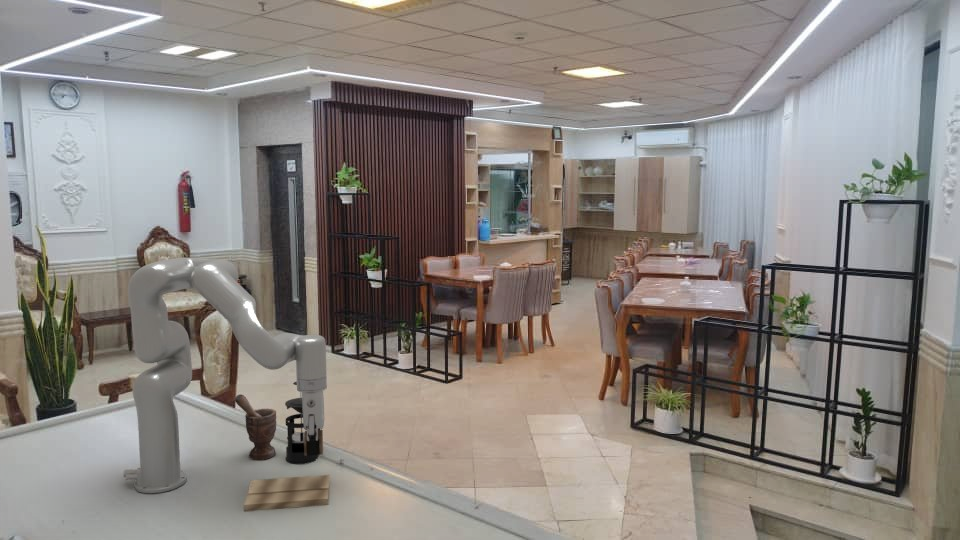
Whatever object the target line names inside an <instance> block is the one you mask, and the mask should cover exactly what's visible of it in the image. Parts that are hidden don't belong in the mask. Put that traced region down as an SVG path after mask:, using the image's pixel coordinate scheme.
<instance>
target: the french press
mask: <svg viewBox="0 0 960 540" xmlns="http://www.w3.org/2000/svg"><path fill="white" fill-rule="evenodd" d="M292 384H293V385H295V386H297V380H296V381H294V382H293V383H292ZM299 395H300V396H299V397H296V398H291V399H289V400H286V401H285V403H284V405H285V407H286V409H287V410H290V408H291V409H292V410H294V411H296V412H297V413H296V414H292V415H288V416H287V417H286V418H285V426H287V437H286V440H287V446H286V447H285V452H286V455H285V461H286V462H287V463H289V464H292V465H304V464H305V463H306V464H309V463H313V462H315V461H317V460H316V459H318V460H319V455H313V456H304V434H305V431H303V429H304V424H303V411H302V392H299ZM296 419H297V420H298V419H300V422H299V423H295V420H296ZM295 429H300V432H296V431H295ZM319 430H321V428H319Z"/></svg>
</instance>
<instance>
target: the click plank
mask: <svg viewBox="0 0 960 540" xmlns="http://www.w3.org/2000/svg"><path fill="white" fill-rule="evenodd" d="M326 488H329V489H330V474H323V475H321V474H320V475H311V476H297V477H295V476H294V477H282V478H281V477H280V478H278V477H277V478H267V479H266V478H264V479H252V480H251V481H250V484H249V488H248V491H247V494H258V493H271V492H285V491H299V490H312V489H326Z"/></svg>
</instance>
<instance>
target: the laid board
mask: <svg viewBox="0 0 960 540" xmlns="http://www.w3.org/2000/svg"><path fill="white" fill-rule="evenodd" d="M329 495H330V487H329V488H326V489H312V490H299V491H285V492H271V493H258V494H248V493H247V494H246V498H245V501H244V504H243V512H249V511H250V512H251V511H252V512H253V511H263V510H276V509H286V508H287V509H288V508H289V509H291V508H302V507H316V506H327V505H329Z"/></svg>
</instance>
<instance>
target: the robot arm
mask: <svg viewBox="0 0 960 540" xmlns="http://www.w3.org/2000/svg"><path fill="white" fill-rule="evenodd" d="M238 280H239V271H238V269H237V267H236V266H235V265H234V263H232V262H230V261H229V260H226V259H223V258H221V259H220V258H199V257H176V258H170V259H163V260H158V261H154V262H151V263H148V264H146V265H143V266H142V267H139V269H137V270H136V271H135V272H134V273H133V274H132V276H131V277H130V279H129V280H128V281H129V282H128V285H127V298H128V304H129V308H130V317H131V319H130V320H131V329H132V330H131V331H132V339H133V341H132V342H133V350H134V353H135V356H136V357H137V359H138V361H141V362H142V363H144V364H154V363H157V364H156V365H154V366H152V367H149V368H148V369H145V370H144V371H142V372H141V373H140V374H138V376H136V378H135V380H134V381H133V383H132V384H133V385H132V396H133V397H132V398H133V400H134V401H133V402H134V404H135V410H136V415H137V417H136V418H137V430H138V447H139V448H138V449H139V467H137V468H136V469H124V471H123V478H125V480H126V481H129V480H135V481H134V490H136V491H137V492H140V493H142V494H158V493H164V492H170V491H172V490H175V489H177V488H179V487H181V486H183V485H184V484H185V483H186V482H187V481H188V476H187V473H186V472H184V471H182V470H181V457H180V456H181V454H180V434H179V433H180V430H179V428H180V427H179V417H178V415H179V414H178V410H177V407H176V405H175V402H174V397H176V396H177V395H179V394H181V393H182V392H183V391H185V390H186V389H187V388H188V387H189V386H190V384H191V382H192V378H193V366H192V365H193V364H192V353H191V344H190V343H191V342H190V338H189V334H188V332H187V330H186V328H185V327H184V326H183V325H182V324H181V323H180V322H178V321H175V320H169V315H168V312H169V311H168V308H167V304H166V302H165V300H164V299H163V296H164V295H166V294H170V293H174V292H178V291H180V290H181V291H182V290H185V289H186V290H187V289H188V290H189V289H190V290H191V289H193V290H195V291H196V292H198V293H199V295H201V296H202V297H203V299H205V300H206V301H207V302H208V303H209V304H210V305H211V307H213V309H215V311H217V312H218V313H219V314H220V315H221V316H222V317H223V318H224V319H225V320H227V322H228V323H229V325H230V328H231V331H232V333H233V334H234V337H235V338H236V340H237V342H238V343H239V345H240V346H241V348H242V350H244V351H245V352H246V353H247V355H249V356H250V357H251V358H252V359H253V360H254V361H255V362H256V363H258V365H260V366H261V367H263V368H265V369H268V370H274V371H276V370H279V369H281V368H283V367H284V366H286V365H287V364H289V363H291V362H293V361H295V367H296V368H295V370H296V381H297V385H296V390H297V391H298V392H299V393H300V392H302V411H303V418H302V423H303V424H304V428H303V429H304V431H307V440H306V447H307V456H313V455H319V454H320V448H319V439H318V430H319V428H320V430H323V429H324V426H325V400H324V399H325V398H324V391H325V390H327V389H328V387H327V386H328V384H327V376H328V375H327V344H326V339H325V337H324V336H322V335H319V334H307V335H304V334H303V335H302V334H298V333H290V332H282V333H278V334H276V335H275V336H272V335H271V334H270V333H269V332H268V331H267V330H266V329H265V328H264V327H263V326H262V323H261V322H260V321H259V319H258V316H257V310H256V309H257V303H256V299H255V298H254V297H253V296H252V295H251V294H250V293H249V292H248V291H247V289H245V288H244V287H243V286H242V285H240V283H238ZM314 431H316V433H314Z"/></svg>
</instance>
